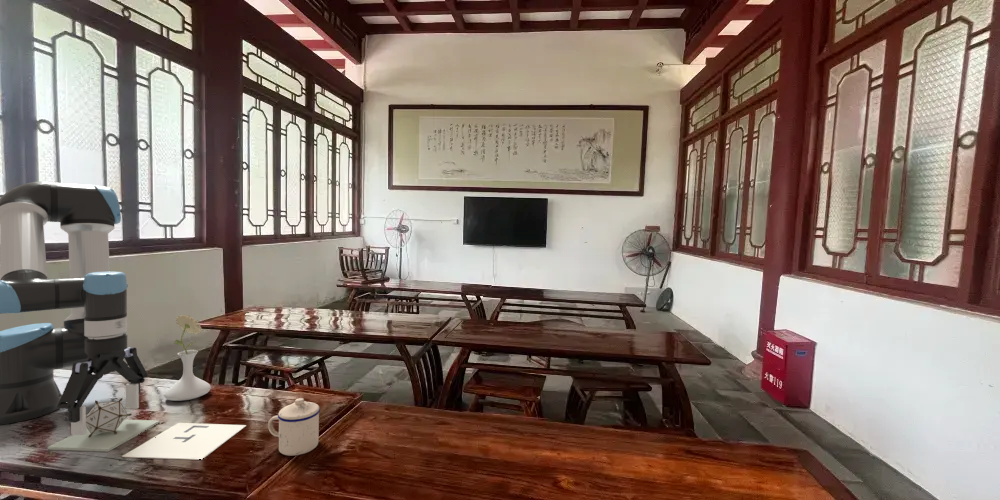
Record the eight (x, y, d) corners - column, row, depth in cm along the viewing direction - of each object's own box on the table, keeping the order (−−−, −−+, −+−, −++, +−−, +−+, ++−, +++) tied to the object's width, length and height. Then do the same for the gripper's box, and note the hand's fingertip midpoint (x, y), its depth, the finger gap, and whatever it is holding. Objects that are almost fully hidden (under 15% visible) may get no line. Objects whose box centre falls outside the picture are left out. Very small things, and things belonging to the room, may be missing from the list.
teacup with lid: (326, 437, 103) (326, 392, 102) (308, 457, 93) (308, 408, 93) (279, 435, 103) (279, 390, 102) (256, 455, 94) (257, 406, 93)
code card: (121, 457, 91) (121, 456, 91) (178, 423, 107) (178, 422, 107) (201, 460, 91) (201, 458, 91) (246, 425, 107) (246, 425, 107)
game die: (106, 451, 99) (92, 430, 93) (78, 435, 100) (62, 414, 94) (143, 419, 106) (132, 399, 100) (117, 405, 107) (105, 384, 101)
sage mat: (47, 449, 93) (47, 446, 93) (106, 421, 107) (106, 418, 107) (108, 451, 93) (108, 449, 93) (159, 422, 107) (159, 420, 107)
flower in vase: (217, 395, 126) (217, 315, 124) (173, 408, 116) (172, 321, 115) (198, 385, 132) (198, 309, 131) (155, 396, 123) (154, 315, 122)
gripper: (67, 350, 87) (68, 447, 88) (164, 324, 112) (164, 399, 113) (32, 349, 87) (33, 446, 88) (136, 323, 112) (137, 398, 113)
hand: (107, 420), depth 100 cm, fingers open, 13 cm apart
